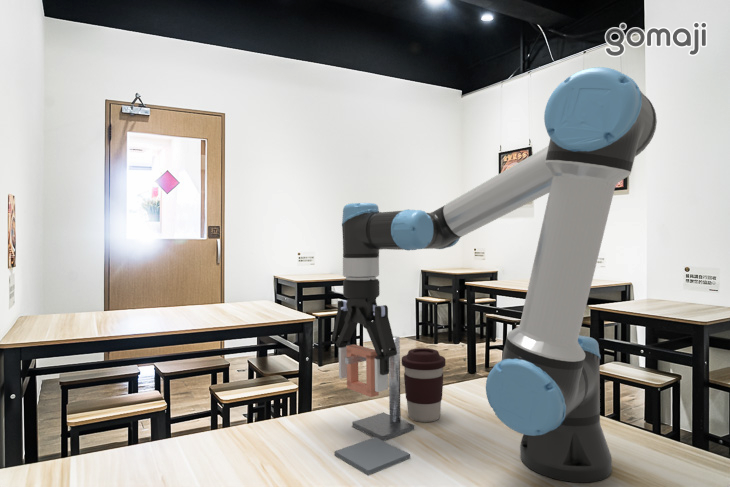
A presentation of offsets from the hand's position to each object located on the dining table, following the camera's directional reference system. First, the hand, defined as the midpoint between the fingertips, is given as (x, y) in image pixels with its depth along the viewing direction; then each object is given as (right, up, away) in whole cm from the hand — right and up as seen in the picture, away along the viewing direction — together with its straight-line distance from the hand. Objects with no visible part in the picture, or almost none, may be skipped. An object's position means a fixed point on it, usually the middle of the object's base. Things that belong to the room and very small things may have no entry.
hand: (362, 383), depth 99 cm
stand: (+2, -11, +2) cm, 11 cm away
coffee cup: (+14, -11, +10) cm, 20 cm away
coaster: (+2, -11, -10) cm, 15 cm away
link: (0, -2, 0) cm, 2 cm away
